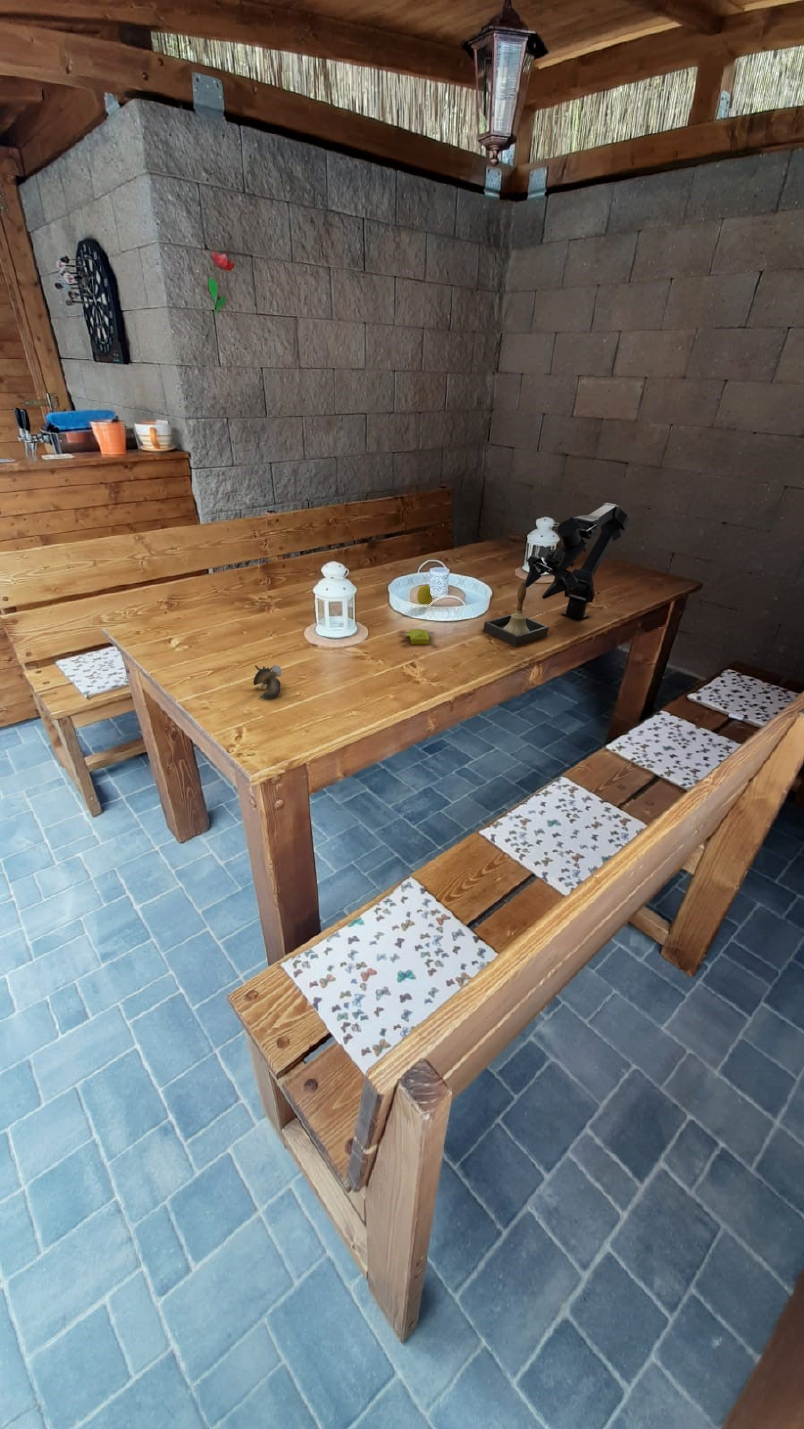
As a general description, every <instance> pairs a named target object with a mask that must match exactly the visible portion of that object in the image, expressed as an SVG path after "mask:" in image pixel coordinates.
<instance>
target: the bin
mask: <svg viewBox="0 0 804 1429" xmlns="http://www.w3.org/2000/svg"><path fill="white" fill-rule="evenodd" d="M512 614H513V613H511V614H507V615H503V616H500V617H497V618H493V619H488V620H485V621H484V622H483V632H485V633H488V634H489V635H491V636H494V637H495V638H497V639H499V640H501V641H503V642H506V643H508V644H509V645H512V646H513V647H517V646H518V647H519V646H521V645H524V644H527V643H530V642H533V641H536V640H539V639H542V638H545V637H547V636H548V634H549V626H548V625H545V624H542V623H540V622H539V621H537V620H533V619H531V618H529V617H527V616H526V626H527V628H528V629H529V631H530V632H526V633H523V634H520V635H515V634H513V633H510V632H508V631H506V630H504V629H503V628H504V627H505V626H507V625H508V623H509V621H510V619H511V615H512Z"/></svg>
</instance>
